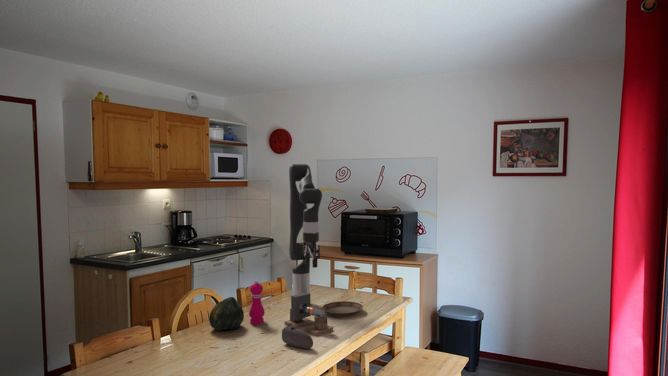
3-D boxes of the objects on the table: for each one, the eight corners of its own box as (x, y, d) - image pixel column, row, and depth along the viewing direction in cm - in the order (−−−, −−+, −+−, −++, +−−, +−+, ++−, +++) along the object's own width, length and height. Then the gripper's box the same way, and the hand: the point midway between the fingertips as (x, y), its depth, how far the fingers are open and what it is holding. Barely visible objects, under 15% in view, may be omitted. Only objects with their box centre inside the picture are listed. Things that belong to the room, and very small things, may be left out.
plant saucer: (318, 318, 213) (317, 311, 213) (326, 306, 233) (326, 300, 233) (360, 320, 209) (360, 313, 209) (365, 308, 230) (365, 301, 230)
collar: (291, 319, 200) (291, 296, 200) (306, 314, 207) (306, 292, 207) (295, 320, 198) (295, 297, 198) (310, 316, 205) (310, 293, 204)
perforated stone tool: (317, 348, 174) (316, 331, 174) (308, 353, 170) (307, 335, 170) (289, 340, 183) (289, 324, 183) (280, 344, 179) (280, 327, 179)
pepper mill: (261, 325, 203) (260, 282, 203) (246, 324, 204) (246, 281, 204) (266, 320, 210) (266, 278, 210) (252, 319, 211) (252, 278, 211)
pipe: (291, 310, 205) (291, 302, 205) (296, 308, 207) (296, 301, 207) (320, 319, 191) (320, 311, 190) (326, 317, 193) (325, 309, 193)
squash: (201, 315, 201) (212, 294, 194) (229, 309, 212) (241, 289, 205) (212, 341, 193) (225, 321, 187) (241, 334, 204) (254, 314, 197)
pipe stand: (284, 324, 203) (284, 309, 203) (301, 319, 210) (300, 305, 210) (316, 336, 188) (316, 319, 188) (333, 330, 195) (333, 314, 194)
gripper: (297, 230, 211) (297, 263, 211) (309, 233, 198) (310, 269, 199) (312, 229, 214) (312, 262, 215) (324, 232, 201) (325, 267, 202)
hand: (311, 265), depth 207 cm, fingers open, 8 cm apart
